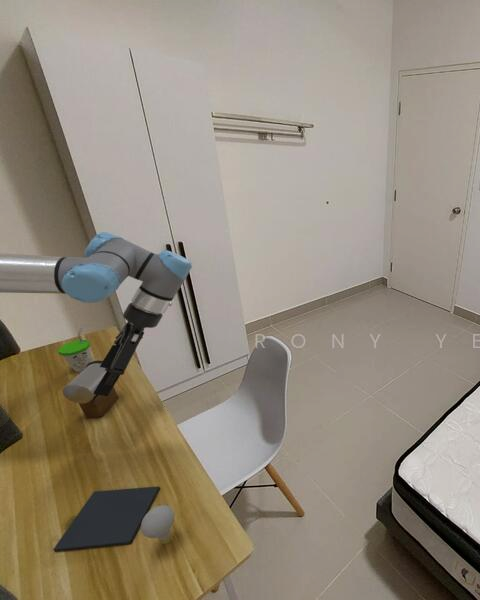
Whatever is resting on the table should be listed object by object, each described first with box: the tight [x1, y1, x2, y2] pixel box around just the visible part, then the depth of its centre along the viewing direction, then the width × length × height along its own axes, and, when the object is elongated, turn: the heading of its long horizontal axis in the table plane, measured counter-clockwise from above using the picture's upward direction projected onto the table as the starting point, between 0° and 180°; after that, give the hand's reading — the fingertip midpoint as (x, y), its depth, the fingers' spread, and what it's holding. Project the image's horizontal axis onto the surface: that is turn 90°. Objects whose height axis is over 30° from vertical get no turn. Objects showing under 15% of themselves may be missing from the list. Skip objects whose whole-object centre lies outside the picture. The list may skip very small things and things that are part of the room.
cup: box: [57, 327, 94, 375], centre depth 109 cm, size 8×8×15 cm
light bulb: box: [140, 504, 175, 545], centre depth 67 cm, size 5×6×10 cm
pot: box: [62, 360, 106, 404], centre depth 94 cm, size 8×10×8 cm
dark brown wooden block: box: [78, 385, 119, 419], centre depth 97 cm, size 5×8×7 cm, turn 8°
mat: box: [52, 485, 161, 553], centre depth 72 cm, size 14×12×1 cm
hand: (103, 380), depth 83 cm, fingers open, 13 cm apart
